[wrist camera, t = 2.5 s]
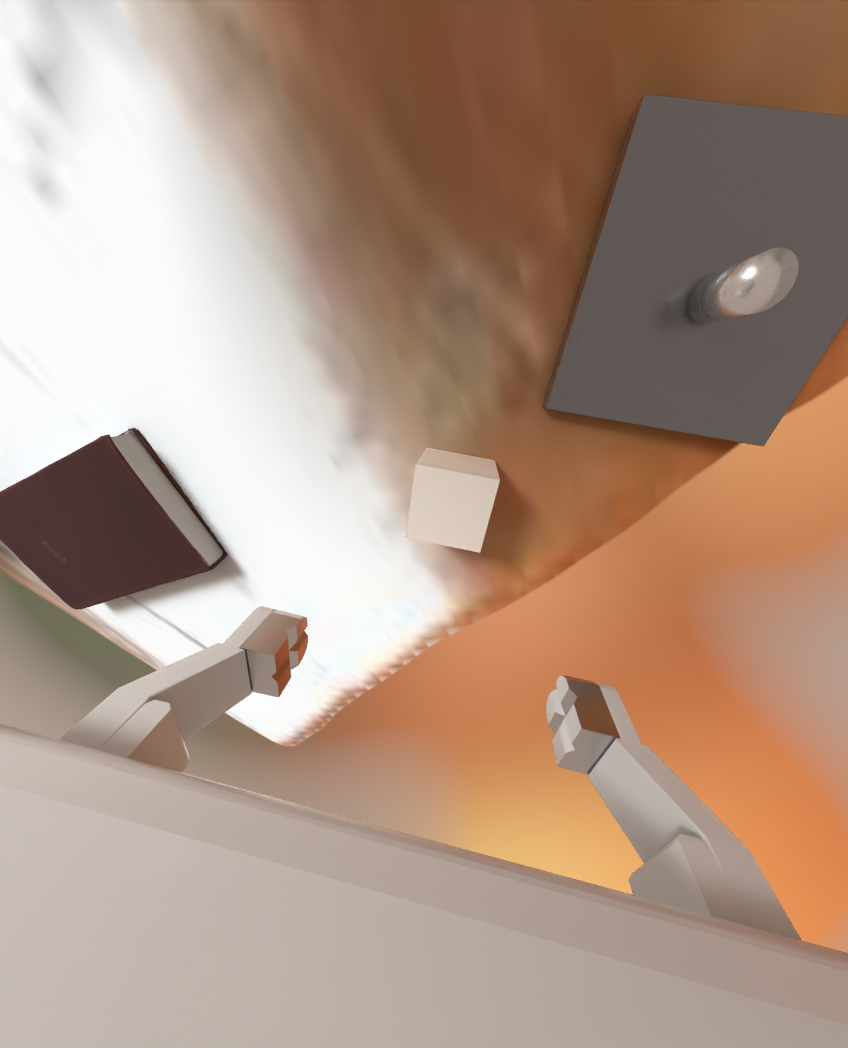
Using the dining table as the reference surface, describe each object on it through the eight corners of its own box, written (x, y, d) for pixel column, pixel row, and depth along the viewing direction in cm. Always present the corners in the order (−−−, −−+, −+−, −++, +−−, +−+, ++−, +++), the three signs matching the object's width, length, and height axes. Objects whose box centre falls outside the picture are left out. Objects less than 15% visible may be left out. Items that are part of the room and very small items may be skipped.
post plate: (542, 406, 22) (558, 414, 18) (632, 113, 15) (690, 18, 11) (748, 442, 21) (816, 459, 17) (933, 148, 15) (1114, 57, 10)
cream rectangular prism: (417, 509, 26) (405, 537, 22) (426, 447, 24) (415, 464, 19) (478, 521, 26) (479, 552, 22) (494, 459, 24) (499, 480, 19)
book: (234, 555, 32) (207, 575, 29) (103, 595, 38) (69, 615, 35) (144, 425, 27) (100, 431, 24) (10, 494, 33) (-40, 507, 30)
